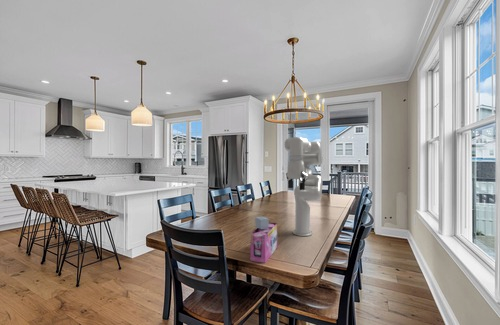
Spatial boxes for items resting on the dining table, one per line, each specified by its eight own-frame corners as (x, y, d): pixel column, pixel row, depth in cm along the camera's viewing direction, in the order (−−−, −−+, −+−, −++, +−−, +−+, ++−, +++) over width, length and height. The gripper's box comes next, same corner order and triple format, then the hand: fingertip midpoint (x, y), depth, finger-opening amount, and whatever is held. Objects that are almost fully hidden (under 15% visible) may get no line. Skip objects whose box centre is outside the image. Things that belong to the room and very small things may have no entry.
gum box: (264, 264, 112) (264, 235, 112) (248, 262, 115) (249, 233, 115) (277, 247, 134) (277, 223, 134) (264, 245, 137) (264, 221, 137)
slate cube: (255, 227, 126) (255, 217, 126) (262, 225, 129) (263, 216, 129) (260, 229, 122) (260, 219, 122) (268, 227, 125) (268, 218, 125)
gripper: (281, 158, 142) (281, 187, 143) (301, 159, 127) (301, 191, 128) (291, 158, 146) (291, 186, 146) (312, 159, 131) (312, 190, 131)
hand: (296, 188), depth 137 cm, fingers open, 9 cm apart
